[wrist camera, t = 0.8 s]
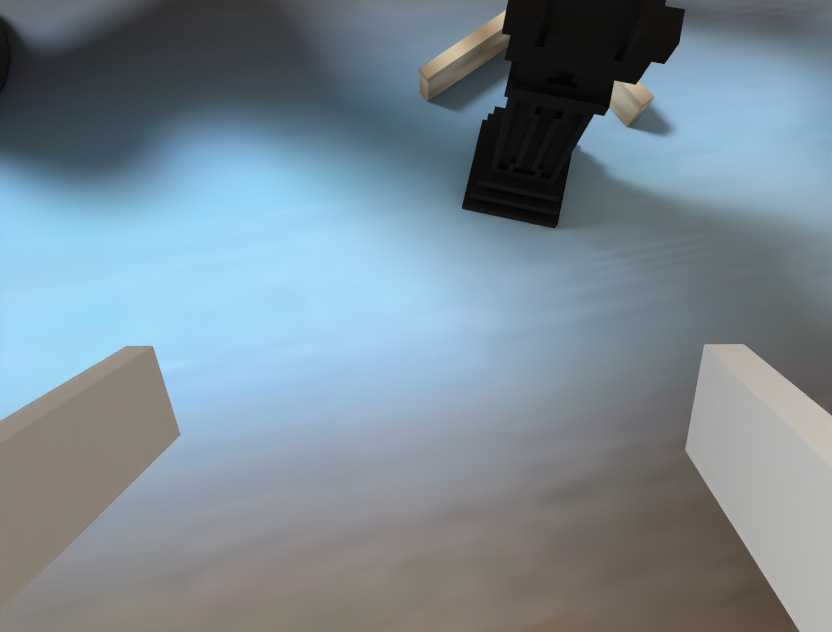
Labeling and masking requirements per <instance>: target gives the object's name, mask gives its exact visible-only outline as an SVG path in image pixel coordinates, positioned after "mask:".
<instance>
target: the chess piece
mask: <svg viewBox="0 0 832 632" xmlns="http://www.w3.org/2000/svg"><path fill="white" fill-rule="evenodd" d="M665 3H666V0H508V4H507V9H506V13H505V18H504V23H503V28H502V33H501V34H505V35H510V39H509V44H508V48H507V52H506V57H505V60H507V61H512V64H511V68H510V73H509V77H508V81H507V86H506V90H505V94H504V97H508V100H507V104H506V108H501V107H496V106H495V109H494V113H493V114H490V113H489V114H488V118H487V120H482V125H481V129H480V133H479V137H478V142H477V146H476V150H475V154H474V158H473V163H472V167H471V171H470V175H469V180H468V184H467V188H466V192H465V197H464V201H463V205H462V209H467V210H471V211H476V212H481V213H485V214H490V215H495V216H499V217H504V218H509V219H513V220H518V221H523V222H527V223H532V224H537V225H541V226H546V227H551V228H555V227H556V226H557V224H558V219H559V214H560V209H561V204H562V199H563V194H564V189H565V184H566V179H567V174H568V169H569V164H570V159H571V154H572V151H573V149H574V148H575V146H576V144H577V143H578V141H579V139H580V138H581V136H582V134H583V132H584V131H585V129H586V127H587V126H588V124H589V122H590V121H591V119H592V117H593V116H594V114H597V115H602V116H604V115H605V113H606V112H607V110H608V109H609V107H610V102H611V97H612V91H613V86H614V81H618V82H623V83H629V84H634V85H636V84H637V83H638V81H639V80H640V78H641V77H642V75H643V74H644V72H645V71H646V69H647V68H648V66H649V65H650V63H651V62H656V63H662V64H665V62H666V61H667V60H668V58H669V57H670V55H671V54H672V53H673V51H674V50H675V48H676V47H677V46H678V44H679V42H680V36H681V30H682V24H683V18H684V12H685V9H679V8H673V7H668V6H665Z"/></svg>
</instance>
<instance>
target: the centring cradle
mask: <svg viewBox="0 0 832 632" xmlns="http://www.w3.org/2000/svg"><path fill="white" fill-rule="evenodd" d="M505 13H506V11H504V12H503V13H501V14H500V15H498V16H497V17H495V18H494V19H492V20H491V21H489V22H488V23H486V24H485V25H483V26H482V27H480V28H479V29H477V30H476V31H474V32H473V33H471V34H470V35H468V36H467V37H465V38H464V39H462V40H461V41H459V42H458V43H456V44H455V45H453V46H452V47H450V48H449V49H447V50H446V51H444V52H443V53H441V54H440V55H438V56H437V57H435V58H434V59H432V60H431V61H430V62H428V63H427V64H425V65H424V66H422V67H421V68H419V77H420V93H421V94H422V95H423V96H424V97H425V99H426V100H427V101H430V100H431V99H433V98H434V97H436V96H437V95H438V94H440V93H441V92H443V91H444V90H446V89H447V88H449V87H450V86H452V85H453V84H455V83H456V82H458V81H459V80H461V79H462V78H464V77H465V76H466V75H468V74H469V73H471V72H472V71H474V70H475V69H477V68H478V67H480V66H481V65H483V64H484V63H486V62H487V61H489V60H490V59H492V58H493V57H494V56H496V55H497V54H499V53H500V52H502V51H503V50H505V49H506V48H508V44H509V39H510V35H505V34H501V33H502V28H503V23H504V18H505ZM653 98H654V96H653V95H652V94H651V93H650V92H649V91H648V90H647V89H646V88H645V87H644V86H643V84H642V83H641V82H640V81H638V83H637V84H636V85H634V84H629V83H623V82H618V81H614V86H613V91H612V97H611V102H610V109H611V110H612V111H613V112H614V113H615V114H616V115H617V116H618V118H619V119H620V120H621V121H622V122H623V123H624V124H625V125H626V126H628V125H630V124H631V123H632V122H634V121H635V120H637V119H638V117H639V116H640V115H641V113H642V112H643V111H644V110H645V108H646V107H647V106H648V104H649V103H650V102H651V100H652V99H653Z"/></svg>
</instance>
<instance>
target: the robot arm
mask: <svg viewBox="0 0 832 632" xmlns="http://www.w3.org/2000/svg"><path fill="white" fill-rule="evenodd" d="M8 62H9V50H8V43H7V39H6V36H5V34H4V32H3V29H2V28H1V26H0V89H1V87H2V85H3V82H4V80H5V77H6V73H7V69H8ZM179 436H180V432H179V428H178V425H177V422H176V419H175V416H174V412H173V409H172V406H171V403H170V400H169V396H168V393H167V390H166V387H165V384H164V380H163V377H162V374H161V371H160V368H159V364H158V361H157V358H156V355H155V352H154V348H153V346H126V347H124V348H123V349H121V350H119V351H118V352H116V353H114V354H112V355H111V356H109V357H107V358H106V359H104V360H102V361H101V362H99V363H97V364H96V365H94V366H92V367H91V368H89V369H87V370H85V371H84V372H82V373H80V374H79V375H77V376H75V377H74V378H72V379H70V380H69V381H67V382H65V383H64V384H62V385H60V386H58V387H57V388H55V389H53V390H52V391H50V392H48V393H47V394H45V395H43V396H42V397H40V398H38V399H37V400H35V401H33V402H31V403H30V404H28V405H26V406H25V407H23V408H21V409H20V410H18V411H16V412H15V413H13V414H11V415H10V416H8V417H6V418H4V419H3V420H1V421H0V613H1V612H2V611H3V610H4V609H5V608H6V607H7V606H8V605H9V604H10V603H11V602H12V601H13V600H14V599H15V598H16V597H17V596H18V595H19V594H20V593H21V592H22V591H23V590H24V589H25V588H26V587H27V586H28V585H29V584H30V583H31V582H32V581H33V580H34V579H35V578H36V577H37V576H38V575H39V574H40V573H41V572H42V571H43V570H44V569H45V568H46V567H47V566H48V565H49V564H50V563H51V562H52V561H53V560H54V559H55V558H56V557H57V556H58V555H59V554H60V553H61V552H62V551H63V550H64V549H65V548H66V547H67V546H68V545H69V544H71V543H72V542H73V541H74V540H75V539H76V538H77V537H78V536H79V535H80V534H81V533H82V532H83V531H84V530H85V529H86V528H87V527H88V526H89V525H90V524H91V523H92V522H93V521H94V520H95V519H96V518H97V517H98V516H99V515H100V514H101V513H102V512H103V511H104V510H105V509H106V508H107V507H108V506H109V505H110V504H111V503H112V502H113V501H114V500H115V499H116V498H117V497H118V496H119V495H120V494H121V493H122V492H123V491H124V490H125V489H126V488H127V487H128V486H129V485H130V484H131V483H132V482H133V481H134V480H135V479H136V478H137V477H138V476H139V475H140V474H141V473H142V472H143V471H144V470H145V469H146V468H147V467H148V466H149V465H150V464H151V463H152V462H153V461H154V460H155V459H156V458H158V457H159V456H160V455H161V454H162V453H163V452H164V451H165V450H166V449H167V448H168V447H169V446H170V445H171V444H172V443H173V442H174V441H175V440H176V439H177V438H178V437H179ZM685 451H686V452H687V454H688V455H689V457H690V459H691V460H692V462H693V463H694V465H695V467H696V468H697V470H698V471H699V473H700V474H701V476H702V478H703V479H704V481H705V482H706V484H707V486H708V487H709V489H710V490H711V492H712V493H713V495H714V497H715V498H716V500H717V501H718V503H719V505H720V506H721V508H722V509H723V511H724V512H725V514H726V516H727V517H728V519H729V520H730V522H731V524H732V525H733V527H734V528H735V530H736V531H737V533H738V535H739V536H740V538H741V539H742V541H743V543H744V544H745V546H746V547H747V549H748V550H749V552H750V554H751V555H752V557H753V558H754V560H755V562H756V563H757V565H758V566H759V568H760V569H761V571H762V573H763V574H764V576H765V577H766V579H767V581H768V582H769V584H770V585H771V587H772V588H773V590H774V592H775V593H776V595H777V596H778V598H779V600H780V601H781V603H782V604H783V606H784V607H785V609H786V611H787V612H788V614H789V615H790V617H791V619H792V620H793V622H794V623H795V625H796V627H797V628H798V630H799V631H800V632H832V416H831V415H830V414H829V413H828V412H826V411H825V410H824V409H823V408H822V407H820V406H819V405H818V404H817V403H815V402H814V401H813V400H812V399H810V398H809V397H808V396H807V395H806V394H804V393H803V392H802V391H801V390H799V389H798V388H797V387H796V386H795V385H793V384H792V383H791V382H790V381H788V380H787V379H786V378H785V377H783V376H782V375H781V374H780V373H779V372H777V371H776V370H775V369H774V368H772V367H771V366H770V365H769V364H768V363H766V362H765V361H764V360H763V359H761V358H760V357H759V356H758V355H756V354H755V353H754V352H753V351H752V350H750V349H749V348H748V347H747V346H745V345H744V344H704V348H703V353H702V359H701V365H700V370H699V376H698V381H697V387H696V393H695V398H694V404H693V409H692V415H691V421H690V426H689V432H688V437H687V443H686V449H685Z"/></svg>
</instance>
